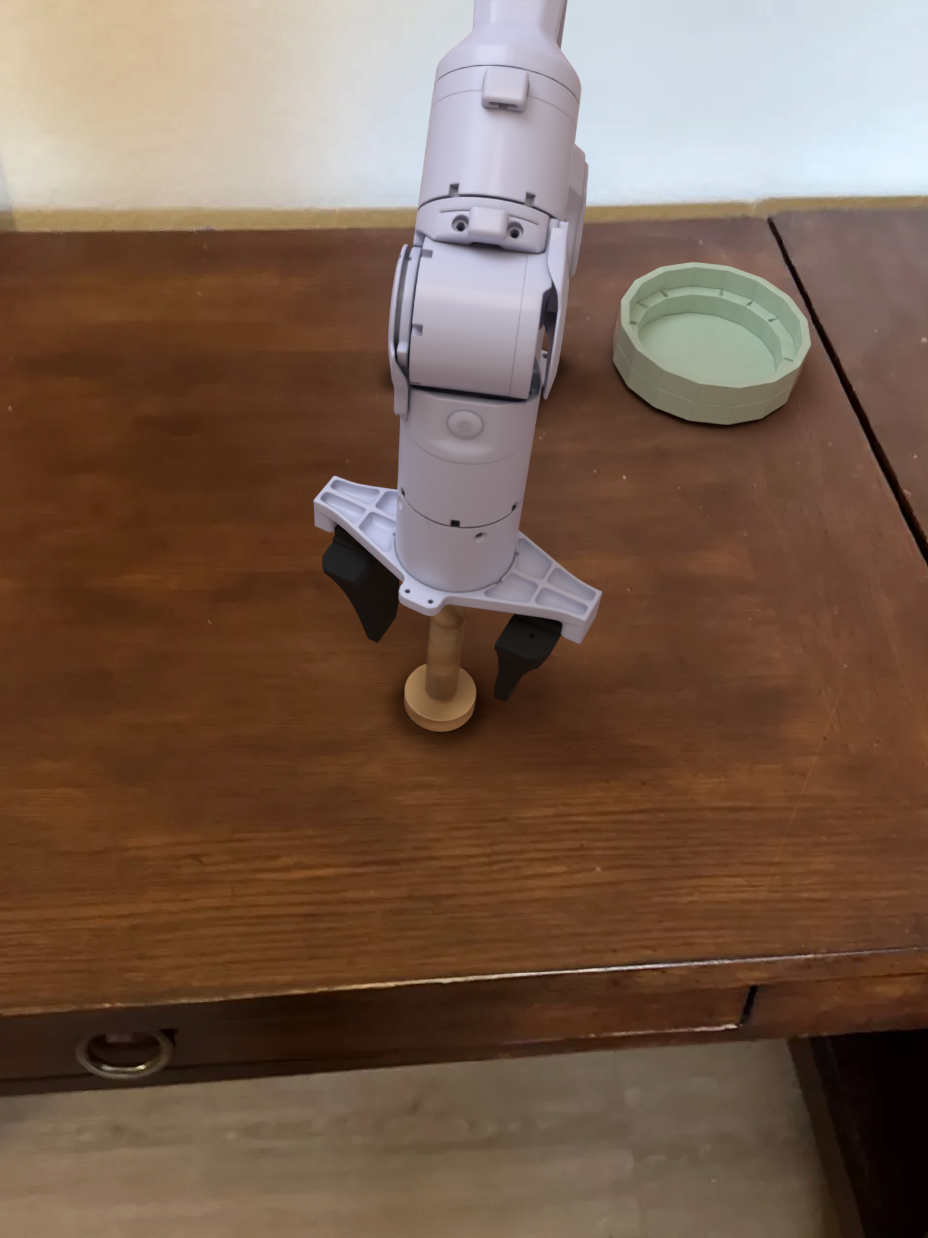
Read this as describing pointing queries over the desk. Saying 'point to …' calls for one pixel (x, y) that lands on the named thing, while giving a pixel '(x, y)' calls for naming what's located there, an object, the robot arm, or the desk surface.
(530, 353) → the robot arm
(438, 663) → the wooden stamp
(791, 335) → the bowl
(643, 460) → the desk surface
